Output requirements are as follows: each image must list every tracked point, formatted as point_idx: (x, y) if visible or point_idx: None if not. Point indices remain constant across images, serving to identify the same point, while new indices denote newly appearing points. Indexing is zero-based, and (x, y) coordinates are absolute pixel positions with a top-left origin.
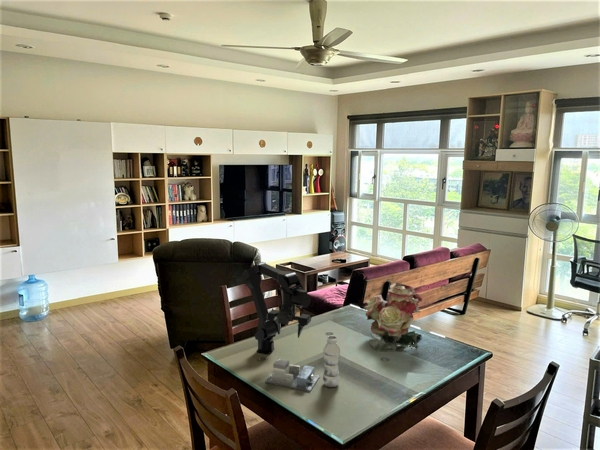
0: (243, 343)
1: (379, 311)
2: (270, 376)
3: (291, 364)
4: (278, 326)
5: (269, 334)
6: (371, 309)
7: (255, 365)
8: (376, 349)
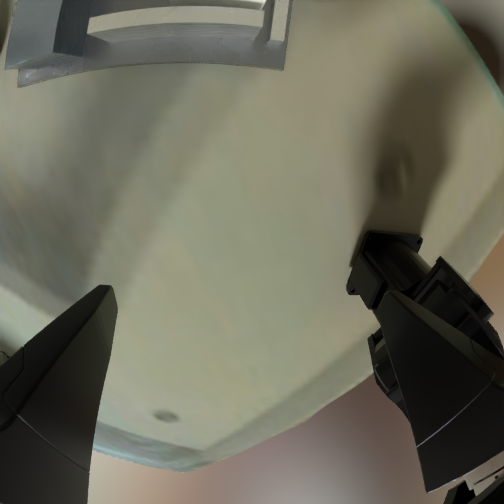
0: None
1: None
2: None
3: (154, 21)
4: (444, 372)
5: (430, 305)
6: None
7: (408, 98)
8: (5, 357)
